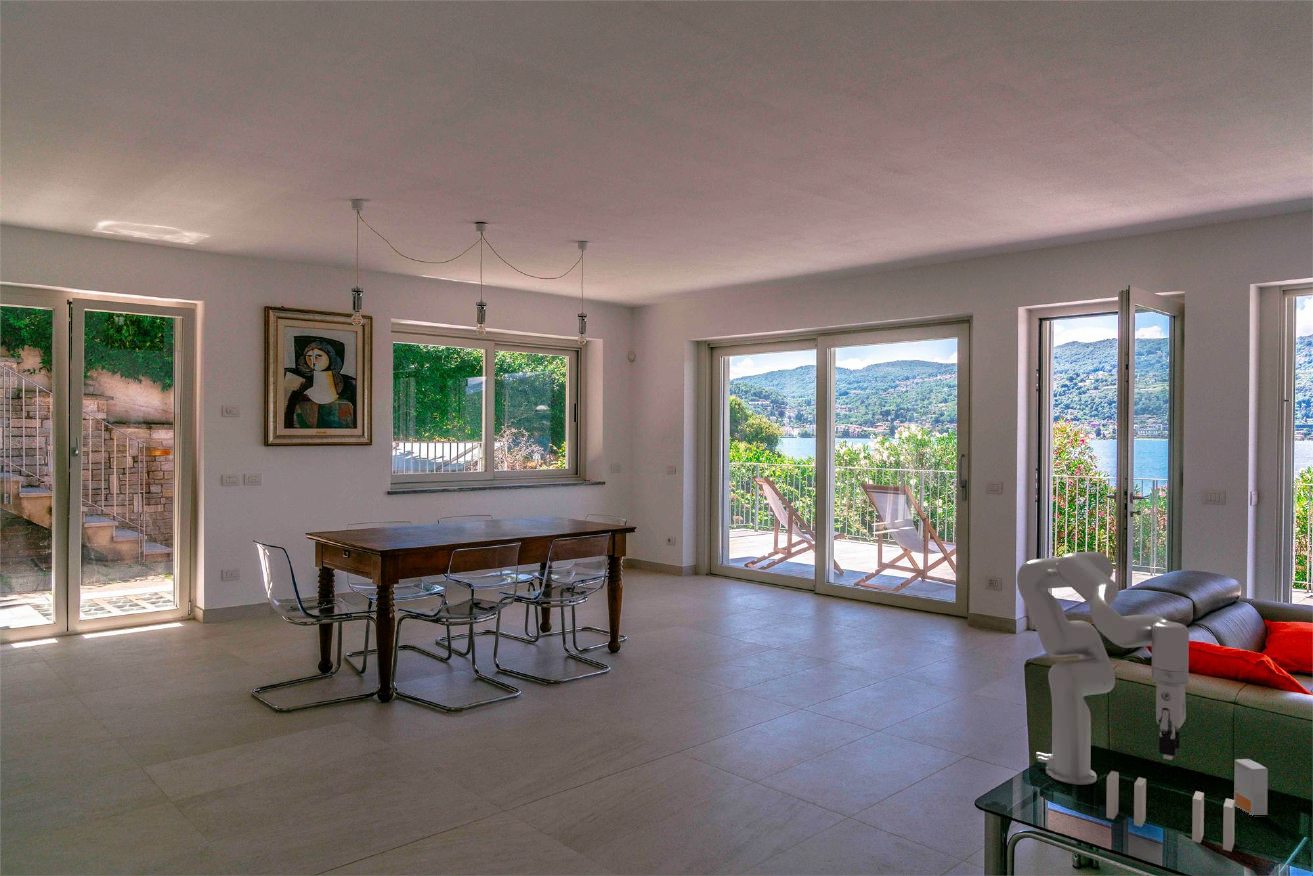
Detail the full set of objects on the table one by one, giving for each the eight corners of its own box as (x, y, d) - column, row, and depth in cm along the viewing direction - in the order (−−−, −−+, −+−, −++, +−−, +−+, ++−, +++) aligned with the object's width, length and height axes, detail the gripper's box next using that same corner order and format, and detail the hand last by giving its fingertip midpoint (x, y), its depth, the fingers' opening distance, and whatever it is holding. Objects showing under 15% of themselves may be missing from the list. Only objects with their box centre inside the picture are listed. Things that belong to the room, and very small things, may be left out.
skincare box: (1233, 805, 214) (1233, 759, 213) (1248, 805, 214) (1249, 758, 214) (1252, 817, 208) (1252, 769, 207) (1268, 816, 208) (1268, 768, 208)
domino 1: (1106, 817, 208) (1106, 777, 208) (1111, 810, 212) (1111, 770, 211) (1113, 819, 207) (1114, 779, 206) (1118, 812, 211) (1118, 772, 210)
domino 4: (1192, 840, 196) (1192, 798, 196) (1195, 832, 200) (1196, 791, 200) (1200, 843, 195) (1200, 800, 195) (1203, 834, 199) (1204, 792, 199)
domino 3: (1174, 753, 202) (1175, 712, 202) (1171, 760, 199) (1171, 717, 198) (1167, 751, 203) (1167, 710, 203) (1163, 758, 200) (1163, 716, 199)
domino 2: (1133, 825, 204) (1134, 784, 204) (1138, 817, 208) (1138, 777, 207) (1141, 827, 203) (1141, 785, 203) (1145, 819, 207) (1146, 779, 206)
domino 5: (1223, 849, 192) (1223, 805, 192) (1225, 840, 196) (1226, 798, 196) (1231, 851, 191) (1232, 808, 191) (1234, 843, 195) (1234, 800, 195)
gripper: (1182, 686, 192) (1181, 766, 192) (1194, 669, 205) (1193, 744, 205) (1144, 680, 196) (1144, 758, 197) (1158, 664, 209) (1157, 736, 210)
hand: (1169, 750), depth 201 cm, fingers closed on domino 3, 4 cm apart
